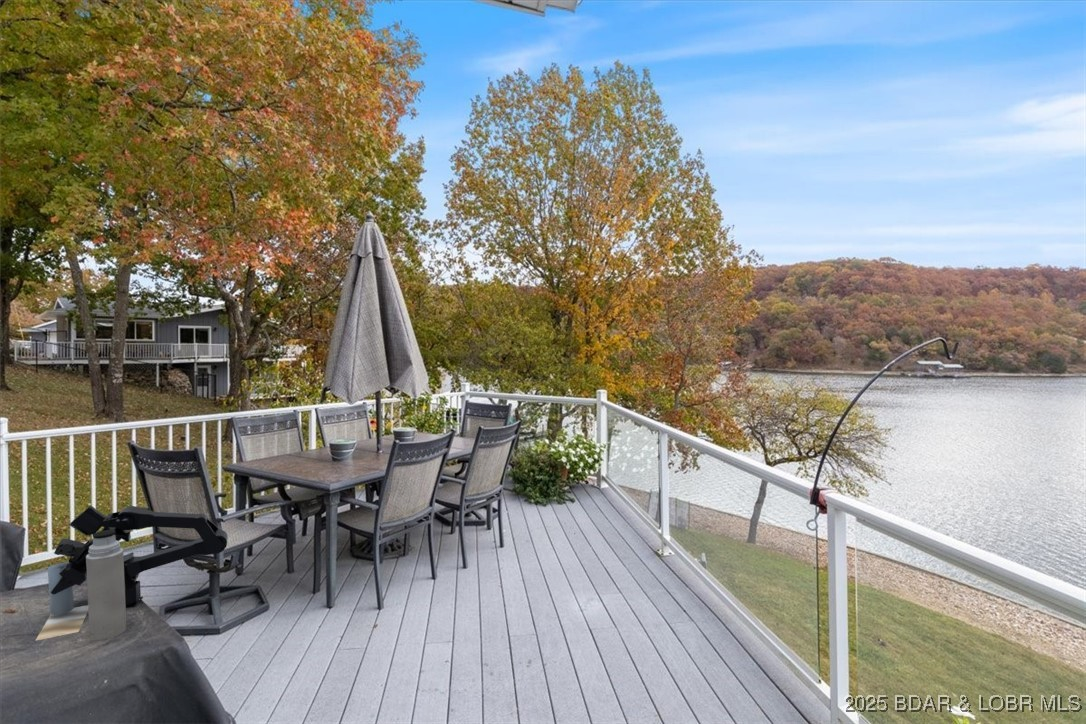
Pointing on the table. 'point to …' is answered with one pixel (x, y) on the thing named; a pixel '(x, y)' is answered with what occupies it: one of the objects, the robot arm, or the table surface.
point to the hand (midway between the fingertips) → (54, 589)
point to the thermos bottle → (105, 586)
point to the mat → (64, 623)
